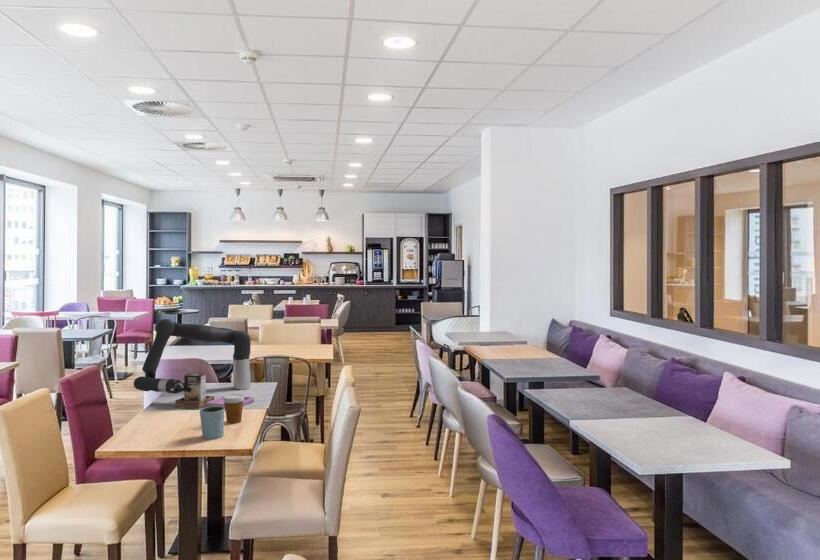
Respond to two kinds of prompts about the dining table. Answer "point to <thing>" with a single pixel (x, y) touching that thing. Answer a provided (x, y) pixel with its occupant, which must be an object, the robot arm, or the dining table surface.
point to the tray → (221, 403)
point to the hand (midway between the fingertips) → (195, 387)
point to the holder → (193, 403)
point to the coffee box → (195, 387)
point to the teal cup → (212, 422)
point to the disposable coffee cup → (233, 408)
